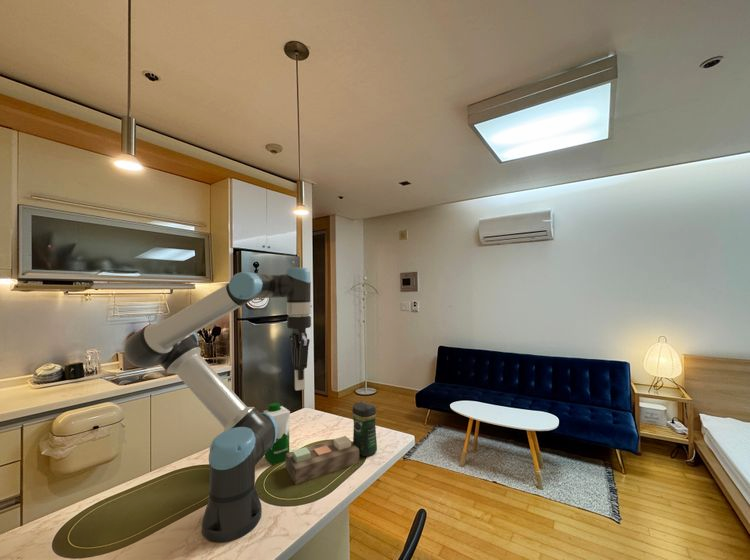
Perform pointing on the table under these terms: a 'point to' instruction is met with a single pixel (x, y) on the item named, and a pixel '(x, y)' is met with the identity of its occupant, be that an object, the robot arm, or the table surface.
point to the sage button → (301, 455)
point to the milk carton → (279, 434)
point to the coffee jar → (364, 428)
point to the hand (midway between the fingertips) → (299, 389)
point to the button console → (321, 462)
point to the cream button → (342, 443)
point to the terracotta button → (322, 451)
